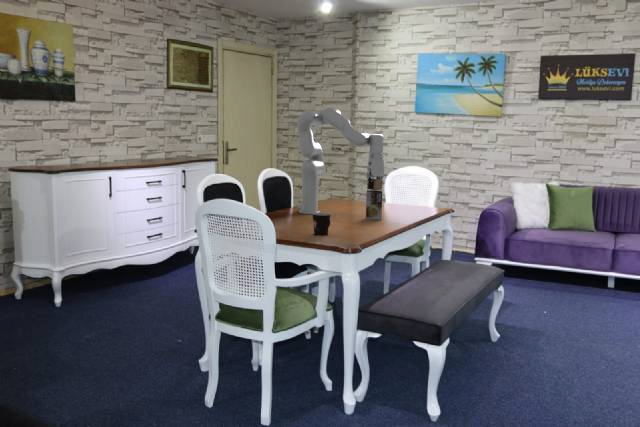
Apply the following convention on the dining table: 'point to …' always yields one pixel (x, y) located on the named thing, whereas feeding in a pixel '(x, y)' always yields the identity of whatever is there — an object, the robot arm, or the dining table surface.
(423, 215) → the dining table surface
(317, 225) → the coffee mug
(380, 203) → the coffee box
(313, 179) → the robot arm
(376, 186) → the walnut block
